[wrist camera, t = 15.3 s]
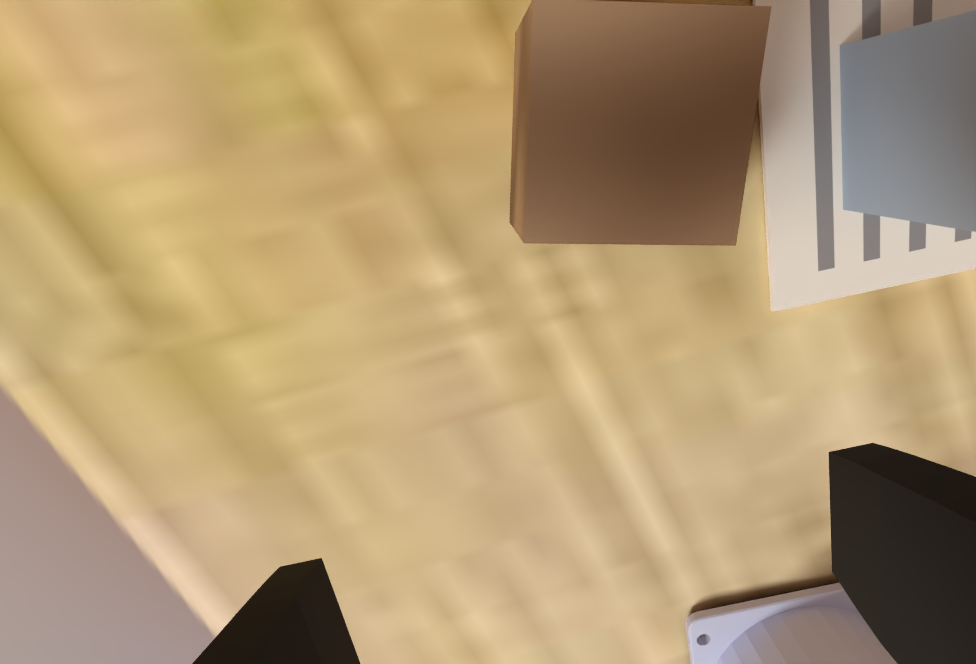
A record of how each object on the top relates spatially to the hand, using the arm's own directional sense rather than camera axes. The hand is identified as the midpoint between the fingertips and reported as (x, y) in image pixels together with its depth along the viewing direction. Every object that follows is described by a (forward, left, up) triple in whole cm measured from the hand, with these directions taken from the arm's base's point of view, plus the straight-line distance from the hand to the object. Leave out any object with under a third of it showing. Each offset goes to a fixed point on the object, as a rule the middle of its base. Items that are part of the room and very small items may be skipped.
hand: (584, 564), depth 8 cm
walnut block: (+5, -4, -11) cm, 12 cm away
